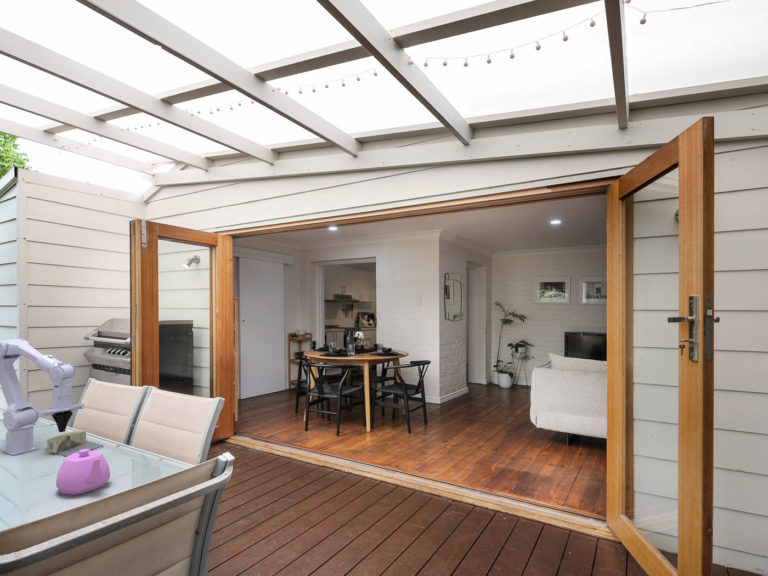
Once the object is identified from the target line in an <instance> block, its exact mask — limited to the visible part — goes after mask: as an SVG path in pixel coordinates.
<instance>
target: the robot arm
mask: <svg viewBox="0 0 768 576" xmlns="http://www.w3.org/2000/svg"><path fill="white" fill-rule="evenodd" d="M21 356H22V357H23V358H26V359H28V360H30V361H32V362H34V363H36V364H35V366H36V368H38V369H40V370H41V371H42V372H45V373H46V374H48V376H49V379H50V380H51V385H52V408H49V409H44V410H41V411H38V410H37V408H35V406H34V404H33V403H32V402H29V401H27V400H26V397H25V394H24V391H23V389H22V386H21V384H20V380H19V377H18V375H17V372H16V369H15V367H14V363H15V362H16V361H17V360H19V359H20V358H21ZM75 376H76V367H75V366H74V365H73V364H72V363H64V362H63V361H61V360H58V359H57V358H56V357H55V356H54V355H52V354H45V355H44V354H42V353H41V352H39V351H38V350H37V349H35V348H34V347H33V346H32V345H30V343H29V341H28V340H25V339H24V338H22V337H21V338H19V337H18V338H12V339H2V340H1V339H0V388H1V390H2V394H3V396H4V399H5V401H6V405H7V407H6V409H5V410H4V411H3V412H2V416H3V423H2V424H3V426H4V427H5V429H6V430H7V432H6V433H5V449H2V450H1V451H2V452H3V453H6V454H9V455H11V456H15V455H19V454H24V453H27V452H28V453H29V452H31V451H36V450H38V447H36V446H34V426H35V425H36V423H37V421H38V420H39V418H44V417H47V416H48V417H49V416H51V418H52V419H53V420H54V421H55V424H56V426H57V430H58V432H59V433H64V432H66V429H67V426H68V424H69V421H70V419H71V417H72V416H73V414H74V413H73V411H77V410H85V403H82V402H80V403H77V404H72V392H73V391H72V390H73V389H72V388H73V385H72V384H73V382H72V381H73V380H72V379H73V378H74V377H75Z"/></svg>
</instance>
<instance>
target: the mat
mask: <svg viewBox="0 0 768 576" xmlns="http://www.w3.org/2000/svg"><path fill="white" fill-rule="evenodd" d="M103 446H105V445H103V444H101V443H96V442H93V441H90V440H87V439H86V443H83V444H80V445H77V446H75V447H72V448H69V449H66V450H63V451H60V452H58V453H55V454H56V455H59V456H62V457H65V458H66V457H67V456H70V455H71V454H73V453H79V452H78V451H80V450H82V449H90V450H92V451H95V450H98V449H97V448H99V449H101V448H100V447H102V448H104V447H103ZM94 449H95V450H94ZM44 450H45V451H47V447H46V448H45V449H44ZM90 450H89V451H90Z"/></svg>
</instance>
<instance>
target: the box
mask: <svg viewBox="0 0 768 576" xmlns="http://www.w3.org/2000/svg"><path fill="white" fill-rule="evenodd" d="M86 440H87V430H86V429H84V430H83V429H77V430H73V431H69V432H67V433H63V434H60V435H57V436H54V437H51V438H48V439H47V441H46V448H47V450H46V452H47V453H50V454H56V453H58V452H60V451H63V450H66V449H69V448H72V447H75V446H77V445H80V444H83V443H86Z"/></svg>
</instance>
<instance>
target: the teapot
mask: <svg viewBox="0 0 768 576" xmlns="http://www.w3.org/2000/svg"><path fill="white" fill-rule="evenodd" d="M89 450H90V449H82V450H80V451H78V452H79V453H73V454H71V455H70V456H67V457H65V458H64V460H63V461H62V463H61V465H60V468H59V470H58V473H57V475H56V481H55V482H56V483H55V487H56V488H57V489H58V490H59V492H61V493H62V494H64V495H71V496H79V495H81V494H85V493H87V492H91V491H94V490H96V489H99V488H102V487H104V486H106V485H107V483H108V481H109V480H110V478H111V470H110V466H109V463H108V461H107V459H106V457H105V456H104V454H103V453H102V452H100V451H98V450H92V451H89Z"/></svg>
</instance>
